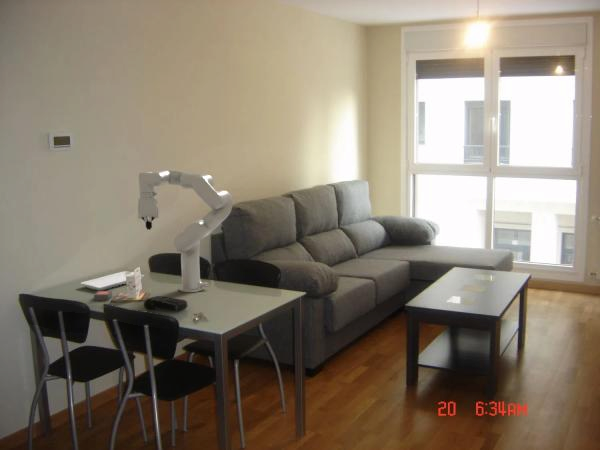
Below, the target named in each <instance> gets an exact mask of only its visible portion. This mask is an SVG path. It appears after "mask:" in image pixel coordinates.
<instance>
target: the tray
mask: <svg viewBox="0 0 600 450" xmlns="http://www.w3.org/2000/svg"><path fill="white" fill-rule="evenodd" d="M132 272H133V271H125V270H124V271H121V272H116V273H112V274H108V275H105V276H102V277H97V278H93V279H89V280H86V281H82V282H80V283H79V284H80V285H82V286H83V287H85V288H88V289H90V290H96V291H107V290H109V289H112V287H113V288H116V287H120V286H123V285H122V284H124V285H127V284H126V276H127V275H129V274H130V273H132ZM144 277H145V275H144V274H141V279H142V278H144ZM119 285H120V286H119Z"/></svg>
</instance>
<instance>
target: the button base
mask: <svg viewBox="0 0 600 450" xmlns="http://www.w3.org/2000/svg"><path fill="white" fill-rule="evenodd" d="M105 291H106V290H102V291H99V290H97V291H96V292H95V294H93V300H94V302H101V301H102V302H103V301H104V302H105V301H106V302H107V301H111V300H112V298H113V291H112V290H108V291H109V293H108V294H106V295H97V294H98V293H99V292H105Z"/></svg>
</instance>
